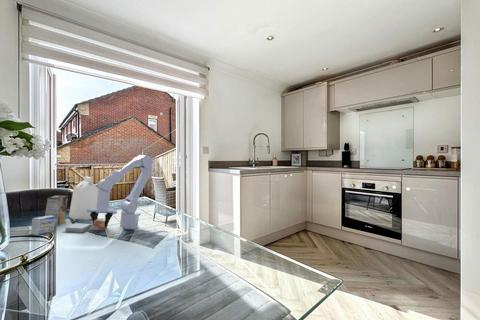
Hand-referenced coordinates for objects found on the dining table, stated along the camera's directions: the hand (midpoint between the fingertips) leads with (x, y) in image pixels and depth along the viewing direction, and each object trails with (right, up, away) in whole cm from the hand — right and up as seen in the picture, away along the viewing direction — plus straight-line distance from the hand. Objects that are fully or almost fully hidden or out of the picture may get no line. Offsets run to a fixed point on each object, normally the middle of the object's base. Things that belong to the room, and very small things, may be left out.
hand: (100, 226), depth 126 cm
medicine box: (-20, 0, -13) cm, 24 cm away
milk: (-24, -1, +21) cm, 32 cm away
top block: (-8, 0, -5) cm, 10 cm away
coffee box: (-26, 0, +1) cm, 26 cm away
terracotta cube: (0, -1, 0) cm, 2 cm away
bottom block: (-9, -2, -5) cm, 10 cm away
